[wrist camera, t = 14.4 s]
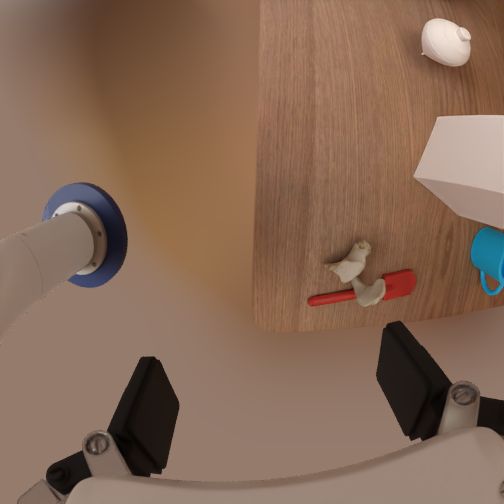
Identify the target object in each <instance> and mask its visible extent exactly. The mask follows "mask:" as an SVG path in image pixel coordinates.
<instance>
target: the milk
mask: <svg viewBox="0 0 504 504" xmlns="http://www.w3.org/2000/svg"><path fill="white" fill-rule="evenodd" d="M413 177H414V178H415V179H416V180H417V181H419V182H420V183H421V184H422V185H424V186H425V187H426V188H427V189H428V190H430V191H431V192H432V193H433V194H434V195H436V196H437V197H438V198H439V199H440V200H441V201H443V202H444V203H445V204H446V205H447V206H448V207H449V208H450V209H451V210H453V211H454V212H455V213H456V214H457V215H458V216H461V217H465V218H468V219H472V220H475V221H478V222H482V223H485V224H488V225H491V226H494V227H498V228H501V229H504V115H463V116H442V117H437V120H436V122H435V125H434V128H433V130H432V133H431V135H430V138H429V140H428V143H427V145H426V148H425V150H424V153H423V155H422V157H421V160H420V162H419V164H418V167H417V169H416V171H415V173H414V176H413Z"/></svg>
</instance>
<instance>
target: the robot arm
mask: <svg viewBox="0 0 504 504" xmlns="http://www.w3.org/2000/svg"><path fill="white" fill-rule="evenodd" d="M106 252H107V235H106V231H105V228H104V225H103V222H102V221H101V219H100V217H99V216H98V214H97V213H96V212H95V211H94V210H93V209H92V208H91V207H90V206H88V205H87V204H85V203H82V202H79V201H72V202H68V203H65V204H63V205H61V206H60V207H59V208H58V209H57V210H56V211H55V212H54V214H53V216H52V218H51V219H48V220H46V221H43V222H41V223H38V224H36V225H33V226H31V227H29V228H26V229H24V230H21V231H19V232H17V233H14V234H12V235H10V236H8V237H5V238H3V239H1V240H0V345H1V343H2V342H3V340H4V338H5V336H6V335H7V334H8V333H9V331H10V330H11V329H12V327H13V326H14V325H15V324H16V323H17V322H18V321H19V320H20V319H21V318H22V317H23V316H24V315H25V314H26V313H27V312H28V311H29V310H30V309H32V308H33V307H34V306H35V305H36V304H37V303H39V302H40V301H41V300H42V299H44V298H45V297H46V296H47V295H48V294H50V293H51V292H52V291H54V290H55V289H56V288H57V287H58V286H60V285H61V284H62V283H64V282H65V281H66V280H68V279H69V278H70V277H71V276H73V275H74V274H79V275H86V274H90V273H92V272H93V271H95V270H96V269H97V268H99V267H100V265H101V264H102V263H103V261H104V259H105V256H106ZM376 376H377V381H378V383H379V384H380V386H381V388H382V390H383V392H384V394H385V396H386V398H387V400H388V402H389V404H390V406H391V408H392V410H393V412H394V414H395V416H396V418H397V421H398V423H399V425H400V427H401V429H402V431H403V433H404V435H405V436H409V438H410V440H411V441H412V440H415V439H417V438H419V437H420V438H421V440H422V442H419V443H417V444H414V445H412V446H409V447H407V448H404V449H401V450H398V451H396V452H393V453H389V454H387V455H384V456H381V457H378V458H374V459H371V460H368V461H364V462H361V463H358V464H353V465H350V466H346V467H341V468H337V469H333V470H328V471H323V472H318V473H313V474H307V475H301V476H295V477H287V478H279V479H270V480H258V481H239V482H201V481H183V480H170V479H159V478H151V477H150V475H151V473H154V474H161V473H162V469H164V468H165V467H166V465H167V460H168V455H169V451H170V447H171V442H172V437H173V433H174V428H175V424H176V419H177V416H178V411H179V401H178V398H177V396H176V395H175V393H174V390H173V388H172V386H171V384H170V382H169V380H168V377H167V375H166V373H165V371H164V368H163V366H162V364H161V362H160V360H157V359H156V358H155V357H141V358H140V360H139V362H138V364H137V367H136V368H135V371H134V373H133V375H132V377H131V379H130V381H129V384H128V386H127V387H126V389H125V391H124V393H123V395H122V397H121V400H120V402H119V404H118V406H117V409H116V411H115V413H114V415H113V418H112V420H111V422H110V425H109V427H108V429H107V432H106V431H103V430H97V431H93V432H91V433H90V434H88V435H87V436H86V437H85V438H84V441H83V443H82V449H83V450H82V451H80V452H78V453H76V454H73V455H71V456H69V457H67V458H65V459H63V460H60V461H58V462H56V463H54V464H52V465H51V466H50V467H49V468H48V470H47V473H46V480H43V479H41V480H40V481H39V482H38V483H37V484H35V485H34V486H33V487H32V488H30V489H29V490H28V491H27V492H25V493H24V494H23V495H22V496H21V497H20V498H19V499H18V501H17V504H504V401H503V400H497V399H491V398H487V397H482V396H480V391H479V389H478V387H477V386H476V385H475V384H473V383H471V382H468V381H459V382H456V383H454V384H452V383H451V382H450V381H449V379H448V378H447V376H446V375H445V374H444V372H443V371H442V370H441V368H440V367H439V366H438V364H437V363H436V362H435V361H434V359H433V358H432V357H431V356H430V354H429V353H428V352H427V350H426V349H425V348H424V347H423V346H421V345H420V344H419V342H418V341H417V340H416V339H415V338H414V336H413V335H412V334H411V333H410V331H409V330H408V329H407V328H406V327H405V326H404V324H403V323H402V322H401V321H396V322H392V323H388V324H387V325H386V328H384V329H383V333H382V340H381V348H380V354H379V361H378V367H377V372H376Z"/></svg>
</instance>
